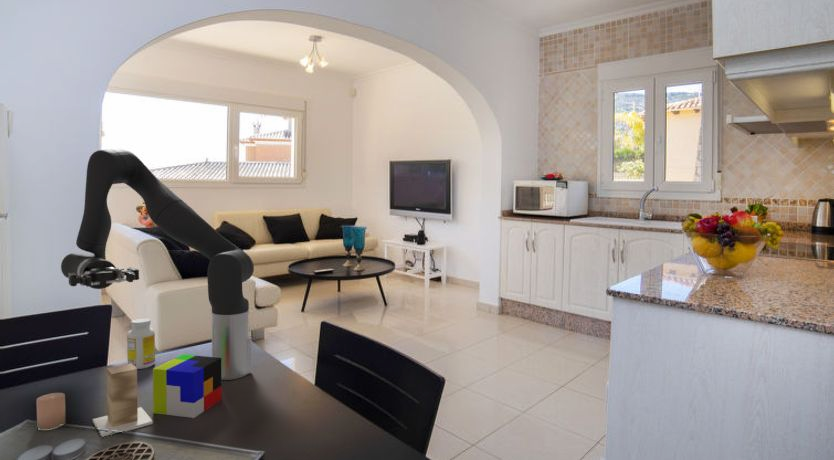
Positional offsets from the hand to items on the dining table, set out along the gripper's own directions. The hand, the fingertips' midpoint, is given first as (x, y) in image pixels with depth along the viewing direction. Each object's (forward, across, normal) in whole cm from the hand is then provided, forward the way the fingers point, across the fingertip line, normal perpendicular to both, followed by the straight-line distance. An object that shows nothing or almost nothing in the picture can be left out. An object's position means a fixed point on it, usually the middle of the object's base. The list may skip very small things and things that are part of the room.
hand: (111, 279), depth 112 cm
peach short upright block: (+10, -13, +28) cm, 32 cm away
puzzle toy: (+18, +11, +28) cm, 35 cm away
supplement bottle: (-17, +10, +28) cm, 34 cm away
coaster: (+18, -2, +28) cm, 33 cm away
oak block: (+18, -2, +27) cm, 33 cm away
